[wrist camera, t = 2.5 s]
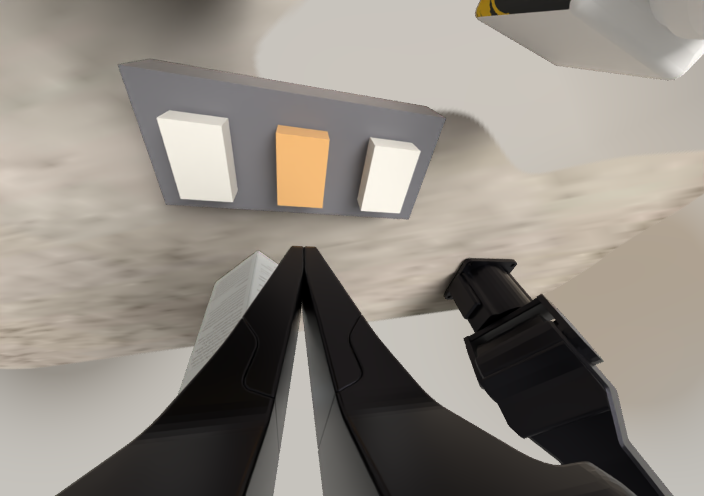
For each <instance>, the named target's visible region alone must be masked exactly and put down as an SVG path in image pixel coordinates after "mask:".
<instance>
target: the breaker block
mask: <svg viewBox="0 0 704 496" xmlns="http://www.w3.org/2000/svg"><path fill="white" fill-rule="evenodd" d="M118 67H119V70H120V73H121V76H122V79H123V82H124V84H125V87H126V90H127V93H128V96H129V99H130V102H131V105H132V108H133V110H134V113H135V116H136V119H137V122H138V125H139V128H140V131H141V134H142V137H143V139H144V142H145V145H146V148H147V151H148V154H149V157H150V160H151V163H152V165H153V168H154V171H155V174H156V177H157V180H158V183H159V186H160V189H161V192H162V194H163V197H164V200H165V203H166V205H182V206H198V207H215V208H231V209H247V210H263V211H279V212H296V213H312V214H328V215H344V216H360V217H377V218H393V219H409V217H410V214H411V212H412V209H413V206H414V204H415V201H416V198H417V195H418V193H419V190H420V187H421V185H422V182H423V179H424V176H425V174H426V171H427V168H428V166H429V163H430V160H431V157H432V155H433V152H434V149H435V147H436V144H437V141H438V139H439V136H440V133H441V130H442V128H443V125H444V122H445V120H446V118H445V117H443V116H442V115H440V114H438V113H437V112H435V111H434V110H432V109H430V108H429V107H427V106H421V105H416V104H410V103H404V102H398V101H392V100H386V99H381V98H375V97H369V96H363V95H357V94H351V93H346V92H340V91H334V90H328V89H322V88H316V87H311V86H305V85H299V84H293V83H287V82H281V81H276V80H270V79H264V78H258V77H253V76H247V75H241V74H235V73H229V72H223V71H218V70H212V69H206V68H200V67H194V66H188V65H183V64H177V63H171V62H165V61H159V60H154V59H145V60H140V61H134V62H128V63H123V64H118ZM169 110H172V111H179V112H187V113H194V114H201V115H209V116H216V117H224V118H228V121H229V128H230V136H231V143H232V151H233V158H234V166H235V173H236V181H237V188H238V191H237V194H236V196H235V198H234V201H233V202H221V201H206V200H191V199H181V198H180V195H179V192H178V188H177V185H176V182H175V178H174V175H173V172H172V168H171V165H170V161H169V158H168V155H167V151H166V148H165V145H164V141H163V138H162V135H161V131H160V128H159V125H158V121H157V117H158V116H160V115H162V114H164V113H165V112H167V111H169ZM278 125H283V126H291V127H298V128H305V129H313V130H320V131H328V135H329V139H330V141H329V151H328V160H327V169H326V179H325V188H324V198H323V207H322V208H311V207H296V206H281V205H278V204H277V162H276V130H277V127H278ZM370 137H372V138H380V139H387V140H395V141H402V142H409V143H413V144H414V145H415V146H416V147H417V148H418V149H419V150H420V151H421V152H420V155H419V158H418V161H417V164H416V167H415V170H414V172H413V175H412V178H411V181H410V184H409V187H408V190H407V193H406V196H405V199H404V202H403V205H402V208H401V211H400V213H386V212H371V211H361V210H360V207H359V204H358V200H357V198H358V193H359V188H360V183H361V178H362V173H363V169H364V164H365V159H366V154H367V149H368V144H369V139H370Z"/></svg>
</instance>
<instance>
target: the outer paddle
mask: <svg viewBox="0 0 704 496" xmlns="http://www.w3.org/2000/svg"><path fill="white" fill-rule="evenodd" d="M157 121H158V125H159V128H160V131H161V135H162V138H163V141H164V145H165V148H166V151H167V155H168V158H169V161H170V165H171V168H172V172H173V175H174V178H175V182H176V185H177V188H178V192H179V195H180V198H181V199H191V200H206V201H221V202H233V201H234V198H235V196H236V194H237V191H238V188H237V181H236V173H235V166H234V158H233V151H232V143H231V136H230V128H229V121H228V118H224V117H216V116H209V115H201V114H194V113H187V112H179V111H172V110H169V111H167V112H165V113H164V114H162V115H160V116H158V117H157Z"/></svg>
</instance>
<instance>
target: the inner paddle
mask: <svg viewBox="0 0 704 496" xmlns="http://www.w3.org/2000/svg"><path fill="white" fill-rule="evenodd" d="M420 152H421V151H420V150H419V149H418V148H417V147H416V146H415V145H414V144H413V143H409V142H402V141H395V140H387V139H380V138H372V137H370V139H369V144H368V149H367V154H366V159H365V164H364V169H363V173H362V178H361V183H360V188H359V193H358V198H357V200H358V204H359V207H360V210H361V211H371V212H386V213H400V211H401V208H402V205H403V202H404V199H405V196H406V193H407V190H408V187H409V184H410V181H411V178H412V175H413V172H414V170H415V167H416V164H417V161H418V158H419V155H420Z"/></svg>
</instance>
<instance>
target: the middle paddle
mask: <svg viewBox="0 0 704 496" xmlns="http://www.w3.org/2000/svg"><path fill="white" fill-rule="evenodd" d="M329 141H330V139H329V135H328V131H320V130H313V129H305V128H298V127H291V126H283V125H278V127H277V130H276V162H277V204H278V205H281V206H296V207H311V208H322V207H323V198H324V188H325V179H326V169H327V160H328V151H329Z"/></svg>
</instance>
